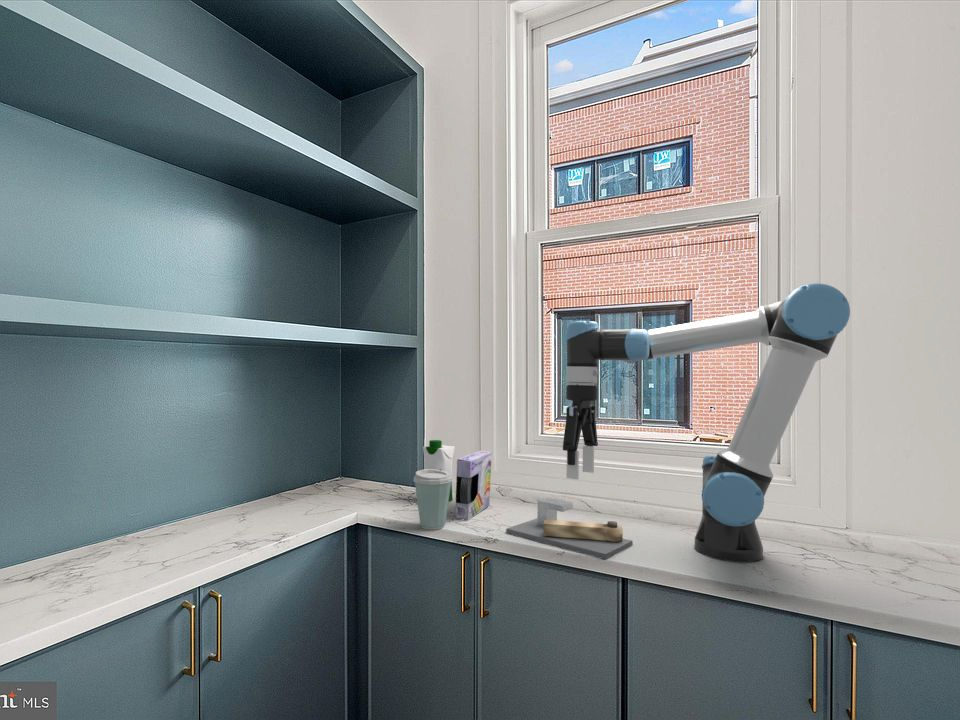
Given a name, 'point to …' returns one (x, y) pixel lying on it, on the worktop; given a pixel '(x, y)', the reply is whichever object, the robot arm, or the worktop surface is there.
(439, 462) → the milk carton
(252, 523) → the worktop surface
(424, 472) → the disposable coffee cup
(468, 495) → the cake pan box
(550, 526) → the brass link
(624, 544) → the board
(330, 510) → the worktop surface
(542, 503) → the block
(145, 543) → the worktop surface
